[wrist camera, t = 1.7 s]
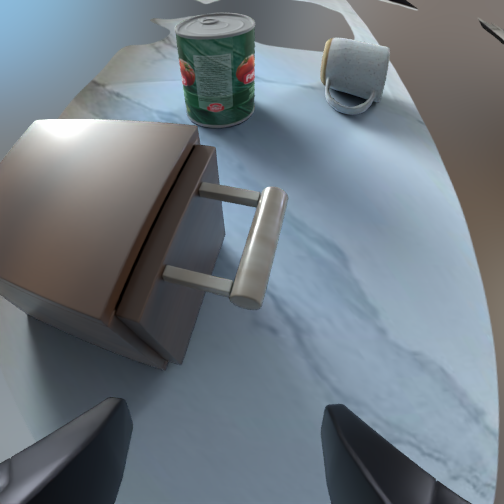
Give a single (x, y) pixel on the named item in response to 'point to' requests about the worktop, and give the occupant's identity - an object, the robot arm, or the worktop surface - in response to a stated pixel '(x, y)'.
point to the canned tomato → (217, 68)
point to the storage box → (84, 220)
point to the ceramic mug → (354, 72)
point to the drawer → (196, 256)
